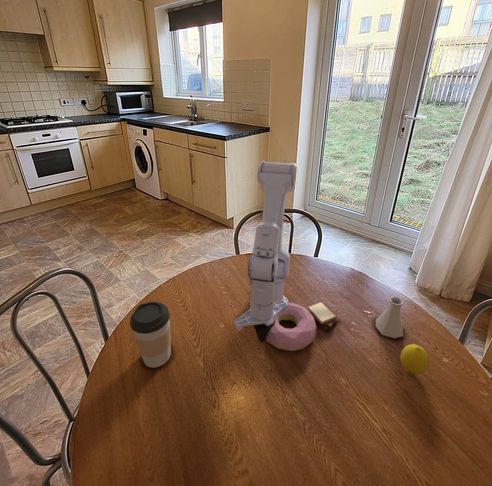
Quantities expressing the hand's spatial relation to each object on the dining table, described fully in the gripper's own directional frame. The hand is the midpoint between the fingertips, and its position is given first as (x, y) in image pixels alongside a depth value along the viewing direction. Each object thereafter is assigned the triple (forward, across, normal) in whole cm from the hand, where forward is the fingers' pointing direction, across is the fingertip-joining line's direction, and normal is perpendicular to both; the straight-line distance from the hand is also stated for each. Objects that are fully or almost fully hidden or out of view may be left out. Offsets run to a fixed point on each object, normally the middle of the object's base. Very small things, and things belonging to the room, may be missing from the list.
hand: (261, 338), depth 76 cm
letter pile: (+2, +20, -1) cm, 20 cm away
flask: (+2, +34, -13) cm, 37 cm away
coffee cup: (+2, -25, +10) cm, 27 cm away
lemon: (+2, +27, -24) cm, 36 cm away
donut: (+2, +9, 0) cm, 9 cm away
